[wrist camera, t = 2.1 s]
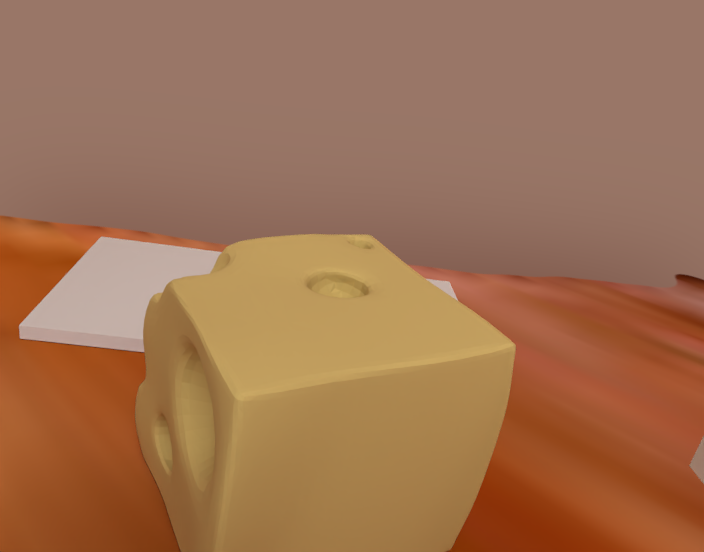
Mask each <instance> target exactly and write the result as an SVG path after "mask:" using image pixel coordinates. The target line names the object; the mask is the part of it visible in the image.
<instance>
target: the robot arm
mask: <svg viewBox="0 0 704 552" xmlns="http://www.w3.org/2000/svg"><path fill="white" fill-rule="evenodd" d="M689 466H690V467H691V469H692V470H693V471H694V472H695V473H696V475H697V476H698V477H699V478H700V480H701V481H702V482H703V483H704V436H703V438H702V440H701V443H700V445H699V447H698V449H697V451H696V453H695V455H694V457H693V459H692V461H691V463H690V465H689Z"/></svg>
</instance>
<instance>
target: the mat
mask: <svg viewBox="0 0 704 552" xmlns="http://www.w3.org/2000/svg"><path fill="white" fill-rule="evenodd" d="M221 253H222V252H216V251H209V250H201V249H193V248H186V247H178V246H170V245H163V244H155V243H147V242H140V241H132V240H124V239H117V238H109V237H100V238H99V239H98V241H97V242H96V243H95V244H94V245H93V246H92V247H91V248H90V249H89V250H88V251H87V252H86V254H85V255H84V256H83V257H82V258H81V259H80V260H79V261H78V262H77V263H76V264H75V265H74V267H73V268H72V269H71V270H70V271H69V272H68V273H67V274H66V275H65V276H64V277H63V278H62V279H61V281H60V282H59V283H58V284H57V285H56V286H55V287H54V288H53V289H52V290H51V291H50V292H49V294H48V295H47V296H46V297H45V298H44V299H43V300H42V301H41V302H40V303H39V304H38V305H37V307H36V308H35V309H34V310H33V311H32V312H31V313H30V314H29V315H28V316H27V317H26V318H25V319H24V321H23V322H22V323H21V324H20V325H19V333H20V339H29V340H38V341H47V342H56V343H65V344H74V345H83V346H92V347H101V348H110V349H119V350H129V351H138V352H144V343H143V327H144V319H145V314H146V310H147V307H148V304H149V301H150V299H151V298H152V296H153V295H154V294H157V293H163V291H164V289H165V287H166V285H167V284H168V283H169V282H170V281H172V280H173V279H178V278H182V277H186V276H195V275H204V274H210V272H211V271H212V269H213V267H214V265H215V263H216V261H217V259H218V256H219V255H220V254H221ZM426 280H428V281H429V282H431V283H432V284H434V285H435V286H437V287H438V288H439V289H441V290H442V291H444V292H445V293H447V294H448V295H450V296H451V297H453V298H454V299H456V300H457V298H456V295H455V293H454V291H453V289H452V287H451V284H450V282H447V281H439V280H431V279H426ZM457 301H458V300H457Z"/></svg>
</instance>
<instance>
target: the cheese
mask: <svg viewBox="0 0 704 552" xmlns="http://www.w3.org/2000/svg"><path fill="white" fill-rule="evenodd" d="M143 343H144V352H145V361H146V378H145V381H144V382H143V383H142V384H141V385H140V386H139V389H138V393H137V397H136V405H135V422H136V429H137V434H138V438H139V442H140V446H141V450H142V453H143V456H144V459H145V461H146V463H147V465H148V467H149V469H150V471H151V473H152V475H153V477H154V479H155V481H156V483H157V485H158V488H159V490H160V492H161V495H162V498H163V500H164V503H165V505H166V509H167V512H168V515H169V518H170V521H171V524H172V527H173V530H174V533H175V536H176V539H177V542H178V545H179V548H180V551H181V552H446V551H449V550H450V549H451V548H452V547H453V544H454V542H455V540H456V538H457V536H458V534H459V532H460V530H461V528H462V526H463V524H464V523H465V521H466V519H467V517H468V515H469V513H470V510H471V508H472V506H473V504H474V501H475V499H476V497H477V494H478V492H479V489H480V487H481V484H482V481H483V479H484V476H485V473H486V471H487V468H488V465H489V462H490V459H491V456H492V453H493V450H494V448H495V445H496V442H497V439H498V435H499V432H500V429H501V426H502V422H503V419H504V415H505V412H506V408H507V403H508V399H509V393H510V387H511V379H512V372H513V364H514V358H515V351H516V346H515V344H514V343H513V342H512V341H511V340H510V339H509V338H507V337H506V336H505V335H503V334H502V333H501V332H500V331H499V330H497V329H496V328H495V327H494V326H492V325H491V324H490V323H488V322H487V321H486V320H484V319H483V318H482V317H480V316H479V315H478V314H476V313H475V312H474V311H472V310H471V309H469V308H468V307H466V306H465V305H463V304H462V303H460V302H459V301H457V300H456V299H454V298H453V297H451V296H450V295H448V294H447V293H445V292H444V291H442V290H441V289H439V288H438V287H437V286H435V285H434V284H432V283H431V282H429V281H428V280H426V279H425V278H424V277H422V276H421V275H420V274H418V273H417V272H416V271H414V270H413V269H412V268H411V267H409V266H408V265H407V264H405V263H404V262H403V261H402V260H400V259H399V258H398V257H396V256H395V255H394V254H393V253H392V252H391V251H389V250H388V249H387V248H386V247H385V246H384V245H382V244H381V243H380V242H378V241H377V240H376V239H375V238H374V237H372V236H371V235H324V234H304V235H289V236H276V237H266V238H257V239H250V240H245V241H240V242H237V243H235V244H232V245H230V246H227V247H226V248H225V249H224V251H223V252H222V253H221V254H220V255H219V256H218V259H217V261H216V263H215V265H214V267H213V269H212V271H211V272H210V274H204V275H195V276H186V277H182V278H178V279H173V280H172V281H170V282H169V283H168V284H167V285H166V287H165V289H164V291H163V293H157V294H154V295H153V296H152V298H151V299H150V301H149V304H148V307H147V310H146V314H145V319H144V327H143Z"/></svg>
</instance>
